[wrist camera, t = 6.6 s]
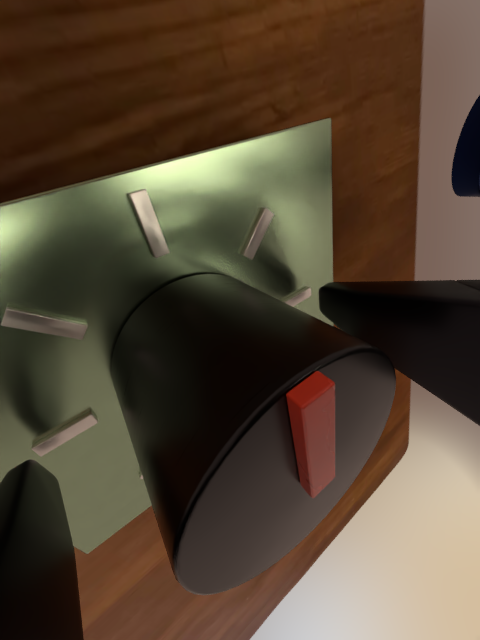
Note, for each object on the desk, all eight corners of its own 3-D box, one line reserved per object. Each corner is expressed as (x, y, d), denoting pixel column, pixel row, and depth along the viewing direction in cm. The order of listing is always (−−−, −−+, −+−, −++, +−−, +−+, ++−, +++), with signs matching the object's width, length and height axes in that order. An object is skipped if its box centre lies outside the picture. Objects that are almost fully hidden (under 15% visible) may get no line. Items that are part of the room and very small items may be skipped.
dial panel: (266, 133, 10) (337, 115, 7) (292, 340, 15) (337, 367, 13) (-191, 252, 5) (-385, 303, 3) (79, 479, 11) (87, 560, 8)
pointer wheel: (274, 368, 10) (395, 466, 7) (156, 449, 8) (234, 642, 5) (251, 246, 7) (437, 299, 4) (68, 326, 6) (99, 566, 2)
